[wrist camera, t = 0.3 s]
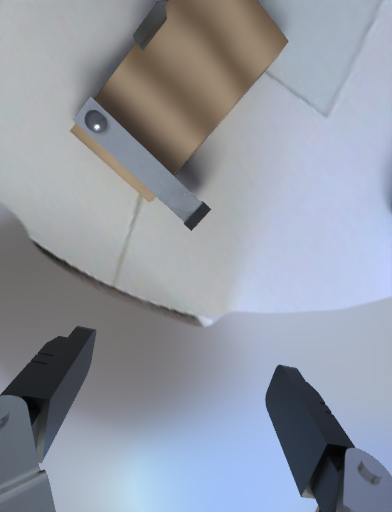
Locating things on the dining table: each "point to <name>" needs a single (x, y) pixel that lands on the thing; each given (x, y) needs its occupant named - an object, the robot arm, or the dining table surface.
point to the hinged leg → (140, 163)
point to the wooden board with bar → (185, 77)
